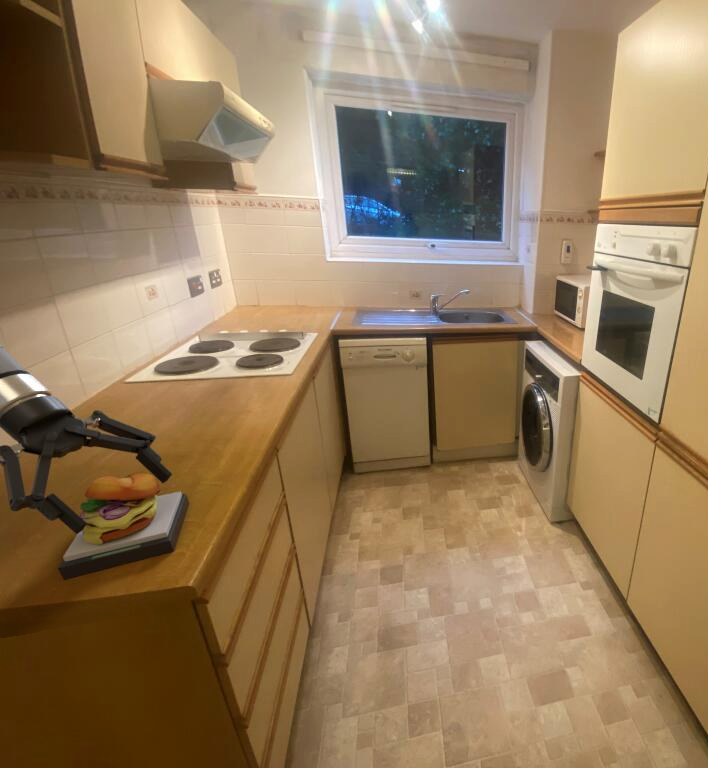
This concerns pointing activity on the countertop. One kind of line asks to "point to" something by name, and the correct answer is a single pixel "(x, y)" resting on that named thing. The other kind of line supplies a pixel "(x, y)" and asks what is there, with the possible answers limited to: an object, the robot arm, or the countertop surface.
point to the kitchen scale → (129, 541)
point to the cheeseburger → (119, 506)
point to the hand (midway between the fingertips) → (128, 501)
